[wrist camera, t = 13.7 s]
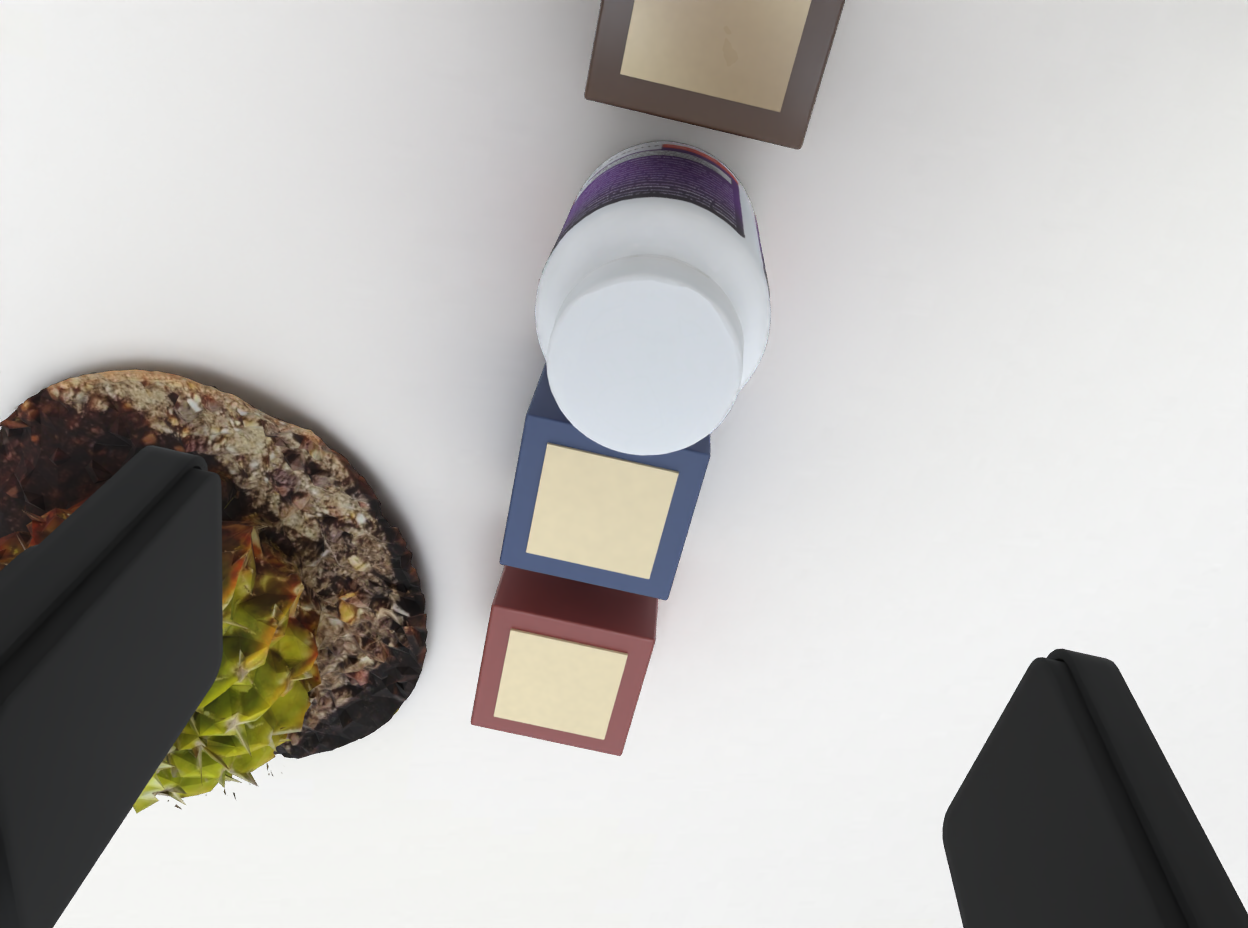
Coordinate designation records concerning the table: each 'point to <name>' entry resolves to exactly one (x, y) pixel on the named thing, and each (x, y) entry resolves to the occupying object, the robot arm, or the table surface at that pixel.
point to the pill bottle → (654, 300)
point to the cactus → (241, 564)
